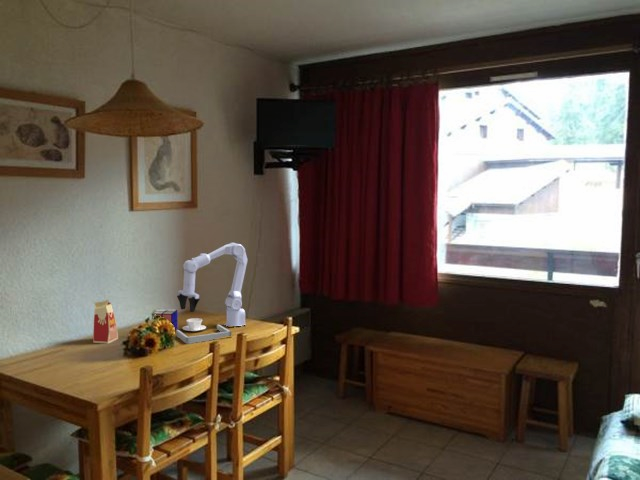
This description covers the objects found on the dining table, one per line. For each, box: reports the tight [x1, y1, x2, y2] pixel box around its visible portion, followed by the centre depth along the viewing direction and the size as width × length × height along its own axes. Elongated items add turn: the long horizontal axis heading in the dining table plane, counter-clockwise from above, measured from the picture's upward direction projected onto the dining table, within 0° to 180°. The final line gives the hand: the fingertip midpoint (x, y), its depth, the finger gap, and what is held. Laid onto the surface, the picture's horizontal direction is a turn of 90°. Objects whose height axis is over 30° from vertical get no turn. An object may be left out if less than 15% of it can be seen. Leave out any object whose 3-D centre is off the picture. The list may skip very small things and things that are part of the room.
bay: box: [175, 324, 232, 345], centre depth 265 cm, size 22×16×3 cm
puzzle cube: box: [151, 308, 179, 330], centre depth 275 cm, size 10×10×10 cm
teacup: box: [182, 317, 207, 332], centre depth 277 cm, size 12×12×5 cm
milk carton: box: [92, 299, 119, 345], centre depth 255 cm, size 9×9×20 cm
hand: (187, 310), depth 274 cm, fingers open, 7 cm apart
